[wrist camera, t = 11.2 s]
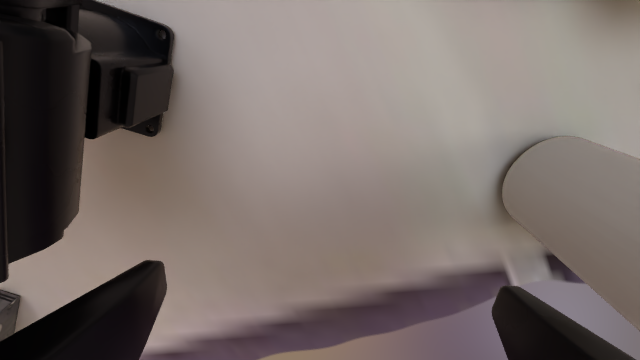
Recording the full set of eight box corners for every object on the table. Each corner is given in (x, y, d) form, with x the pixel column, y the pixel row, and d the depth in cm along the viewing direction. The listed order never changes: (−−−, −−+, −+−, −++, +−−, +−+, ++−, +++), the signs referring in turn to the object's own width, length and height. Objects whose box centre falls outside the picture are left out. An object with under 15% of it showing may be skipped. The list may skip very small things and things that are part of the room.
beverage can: (514, 127, 20) (758, 234, 9) (612, 137, 20) (967, 252, 9) (483, 216, 22) (643, 384, 11) (571, 223, 23) (810, 395, 12)
